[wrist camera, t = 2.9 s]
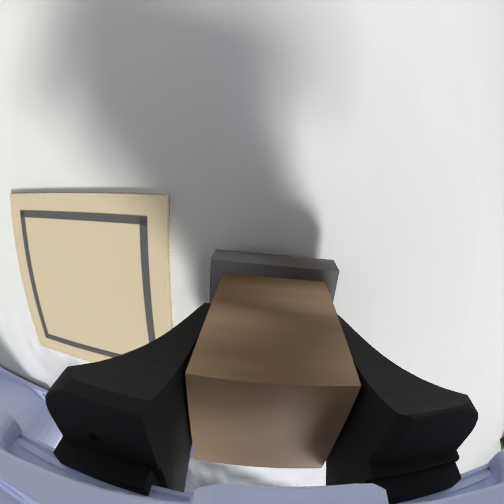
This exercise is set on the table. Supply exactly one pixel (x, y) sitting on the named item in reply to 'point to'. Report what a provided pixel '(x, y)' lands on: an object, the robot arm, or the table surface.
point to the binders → (502, 443)
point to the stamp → (270, 363)
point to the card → (94, 269)
